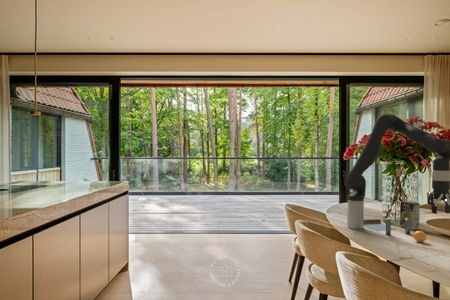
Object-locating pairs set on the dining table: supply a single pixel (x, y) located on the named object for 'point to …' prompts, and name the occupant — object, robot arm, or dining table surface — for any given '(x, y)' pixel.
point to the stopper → (372, 221)
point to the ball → (419, 236)
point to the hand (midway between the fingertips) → (440, 213)
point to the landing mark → (377, 227)
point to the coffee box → (410, 214)
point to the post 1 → (388, 226)
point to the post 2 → (408, 226)
